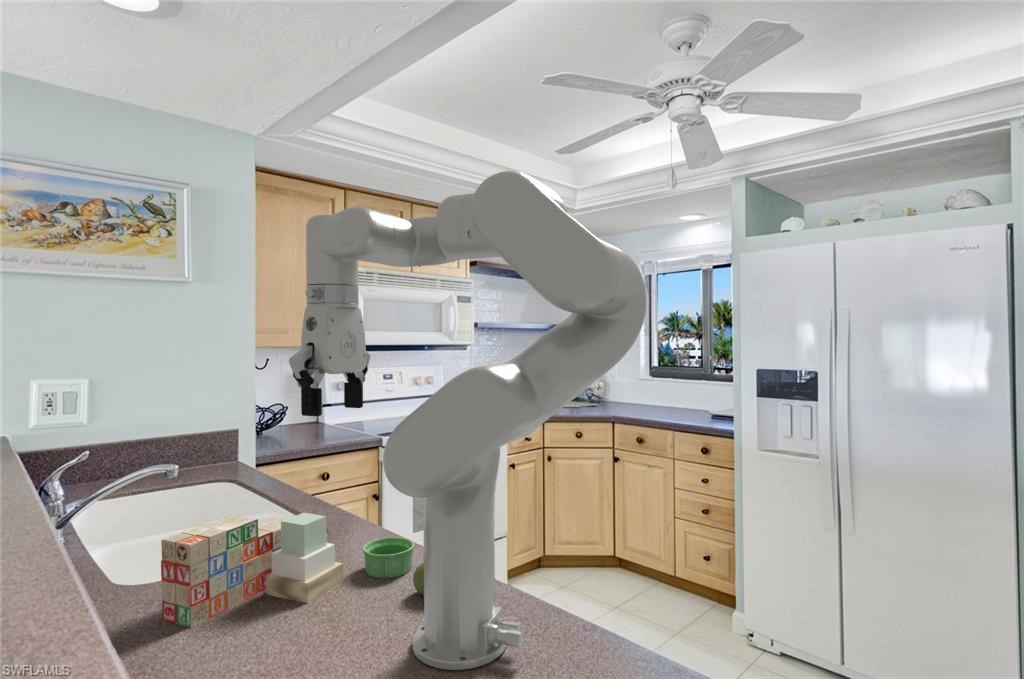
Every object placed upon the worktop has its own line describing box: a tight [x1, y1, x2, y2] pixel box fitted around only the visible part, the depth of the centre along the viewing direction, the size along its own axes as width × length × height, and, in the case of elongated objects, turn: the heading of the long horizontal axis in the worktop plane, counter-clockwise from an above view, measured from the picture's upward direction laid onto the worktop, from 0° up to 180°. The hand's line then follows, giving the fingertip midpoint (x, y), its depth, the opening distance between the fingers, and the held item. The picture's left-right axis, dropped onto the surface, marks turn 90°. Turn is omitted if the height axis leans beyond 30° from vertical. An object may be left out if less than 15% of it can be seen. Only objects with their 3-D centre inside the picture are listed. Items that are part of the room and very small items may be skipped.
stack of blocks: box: [160, 514, 288, 629], centre depth 92 cm, size 21×6×12 cm, turn 157°
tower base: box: [265, 561, 344, 604], centre depth 94 cm, size 8×8×4 cm
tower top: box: [271, 542, 336, 581], centre depth 94 cm, size 7×7×4 cm
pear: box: [412, 561, 424, 597], centre depth 90 cm, size 6×5×10 cm
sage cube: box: [281, 512, 328, 556], centre depth 94 cm, size 5×5×5 cm
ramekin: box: [362, 536, 415, 579], centre depth 101 cm, size 9×9×4 cm
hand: (333, 411), depth 86 cm, fingers open, 9 cm apart
